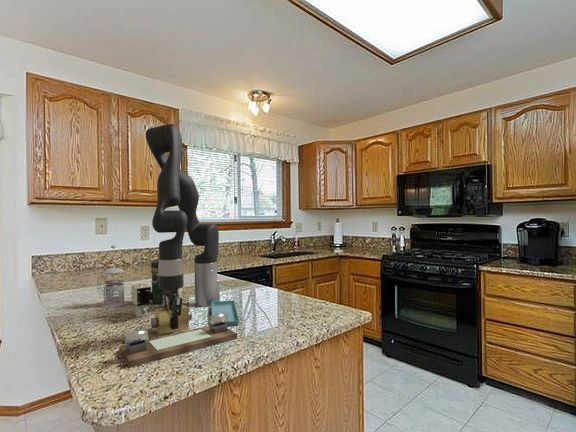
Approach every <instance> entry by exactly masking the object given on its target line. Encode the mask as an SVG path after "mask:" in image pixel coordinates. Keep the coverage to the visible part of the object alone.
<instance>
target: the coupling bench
mask: <svg viewBox="0 0 576 432" xmlns="http://www.w3.org/2000/svg"><path fill="white" fill-rule="evenodd" d="M225 322H228V314H227V313H226V312H224V313H219V314H214V315H212V314H210V315H209V316H208V323H209V325H207V326H202V327H197V328H192V329H187V330H183V331H178V332H174V333H169V334H168V335H167V334H165V335H160V336H158V337H154V338H153V337H152V338H149V332H148V328H142V329H137V330H133V331H132V330H131V331H127V332H125V333H124V343H125V344H123V345H119V346H118V352H119V353H120V355H121V357H122V359H123V360H124V362H125V363H126V364H127V366H128V368H132V367H135V366H140V365H143V364H146V363H150V362H155V361H159V360H161V359H165V358H169V357H173V356H177V355H180V354H184V353H188V352H192V351H195V350H200V349H203V348H207V347H211V346H215V345H219V344H222V343H227V342H230V341H234V340H237V339H238V333H237V332H236V331H234V330H231V329H230V328H228V324H227V323H225Z"/></svg>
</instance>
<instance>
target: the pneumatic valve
mask: <svg viewBox="0 0 576 432" xmlns="http://www.w3.org/2000/svg"><path fill="white" fill-rule="evenodd" d="M130 291H131V293H130V294H131V302H132V303H133V304H134V305H135V316H136V317H137V318H140V317H147V316H148V306H147V305H152V301H153V292H152V285H150V284H146V283H142V282H140V283H137V284H131V290H130Z"/></svg>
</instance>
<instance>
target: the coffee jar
mask: <svg viewBox="0 0 576 432" xmlns="http://www.w3.org/2000/svg"><path fill="white" fill-rule="evenodd" d="M158 265H159V258H156V259H153V260H152V261H151V264H150V271H151V292H153V301H151V303H156V304H162V297H161V292H164V290H161V289H159V282H158Z"/></svg>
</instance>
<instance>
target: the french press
mask: <svg viewBox="0 0 576 432" xmlns="http://www.w3.org/2000/svg"><path fill="white" fill-rule="evenodd" d="M110 248H111V249H113V251H112V253H113V255H112V257H113V267H112V268H109V269H106V270H103V272H102V274H103V275H101V276H99V278H98V279H97V282H96V286H97V290H98V291H99V292H100V293H102V294H103V303H102V304H101V305H100V307H101V308H117V307H120V306H124V305H127V304H128V302H127V301H126V300H125V283H123V282H124V280H123V279H111V280H106V277H107V275H117V274H118V275H119V274H124V273H125V270H123V269H122V268H118V267H115V249H116V248H117V245H114V244H112V245H111V246H110ZM102 279H104V280H106V281H104V282H103V283H104V284H105V285H103V288H102V286H101V285H98V284H99V281H101V280H102ZM99 288H100V289H99Z"/></svg>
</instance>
